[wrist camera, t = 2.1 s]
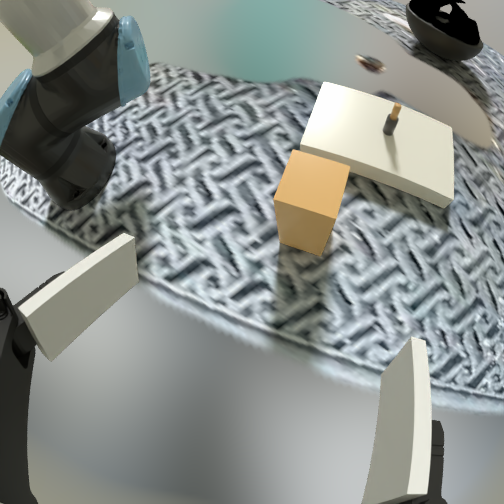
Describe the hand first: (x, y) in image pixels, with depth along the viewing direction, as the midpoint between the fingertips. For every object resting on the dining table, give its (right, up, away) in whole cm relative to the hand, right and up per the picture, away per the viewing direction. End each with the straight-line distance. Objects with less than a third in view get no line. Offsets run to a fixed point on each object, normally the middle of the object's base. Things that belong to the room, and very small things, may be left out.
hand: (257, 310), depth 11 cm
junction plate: (+19, +18, +24) cm, 35 cm away
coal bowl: (+45, +51, +29) cm, 74 cm away
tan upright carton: (+6, +5, +22) cm, 23 cm away
